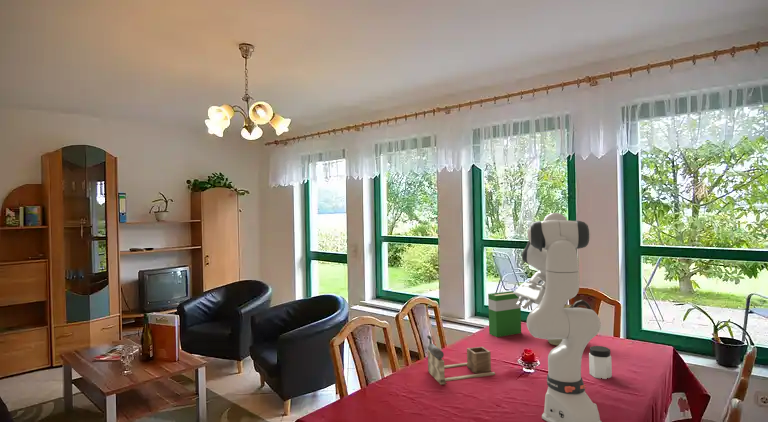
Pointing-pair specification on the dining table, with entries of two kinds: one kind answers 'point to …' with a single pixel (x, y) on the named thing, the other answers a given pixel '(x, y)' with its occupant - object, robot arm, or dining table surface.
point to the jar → (600, 362)
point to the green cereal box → (504, 314)
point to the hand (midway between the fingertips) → (520, 306)
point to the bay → (438, 366)
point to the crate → (478, 359)
